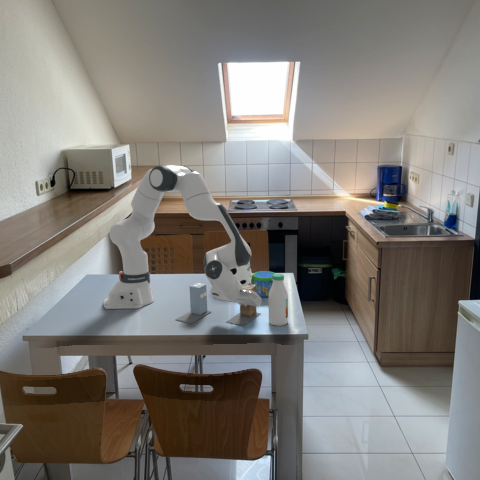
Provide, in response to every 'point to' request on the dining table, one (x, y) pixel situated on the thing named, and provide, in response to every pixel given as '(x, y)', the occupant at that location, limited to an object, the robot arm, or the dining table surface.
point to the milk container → (243, 274)
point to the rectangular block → (198, 298)
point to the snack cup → (262, 282)
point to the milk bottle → (278, 301)
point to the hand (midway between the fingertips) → (244, 304)
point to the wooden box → (248, 309)
